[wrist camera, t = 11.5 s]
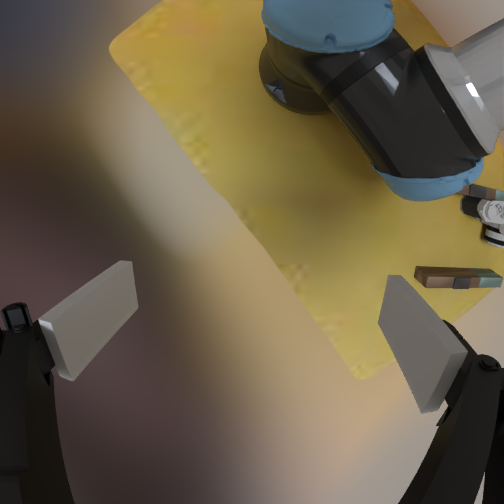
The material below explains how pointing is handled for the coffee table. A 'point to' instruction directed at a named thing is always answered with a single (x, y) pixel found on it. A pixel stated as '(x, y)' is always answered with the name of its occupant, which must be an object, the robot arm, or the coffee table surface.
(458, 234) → the coffee table surface
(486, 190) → the rail
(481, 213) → the camera
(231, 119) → the coffee table surface
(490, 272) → the rail
